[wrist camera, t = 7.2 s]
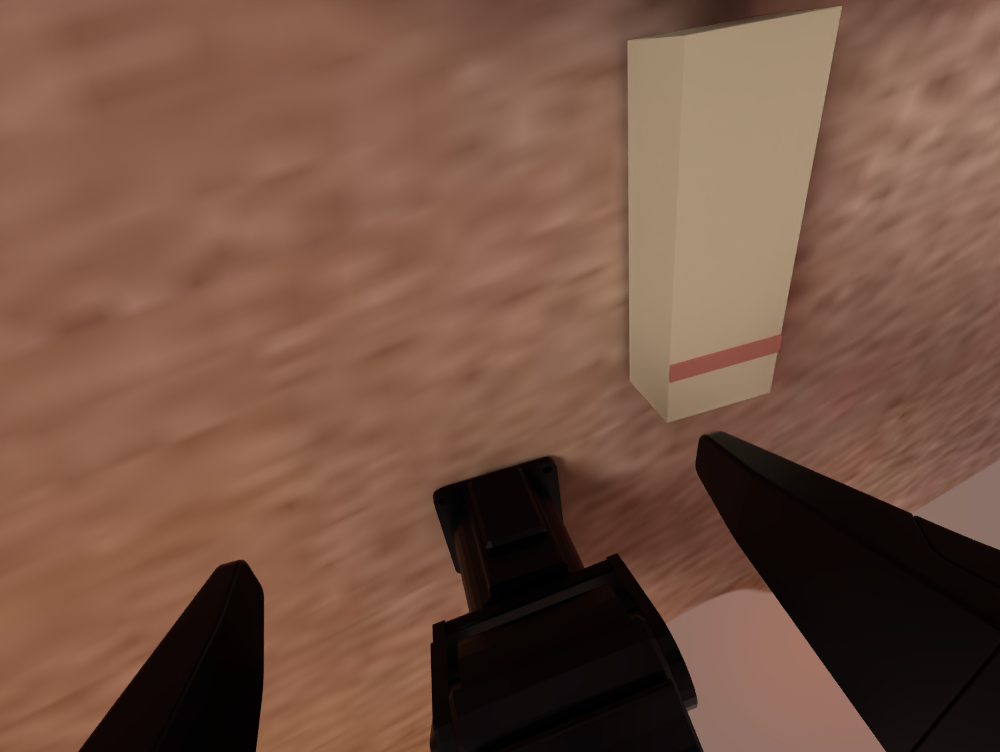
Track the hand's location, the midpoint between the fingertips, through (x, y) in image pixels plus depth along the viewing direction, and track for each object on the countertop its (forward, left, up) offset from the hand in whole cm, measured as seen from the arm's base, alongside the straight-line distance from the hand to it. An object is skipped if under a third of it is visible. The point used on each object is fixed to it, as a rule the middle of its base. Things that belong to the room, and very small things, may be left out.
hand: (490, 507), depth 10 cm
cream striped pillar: (0, -11, -12) cm, 16 cm away
